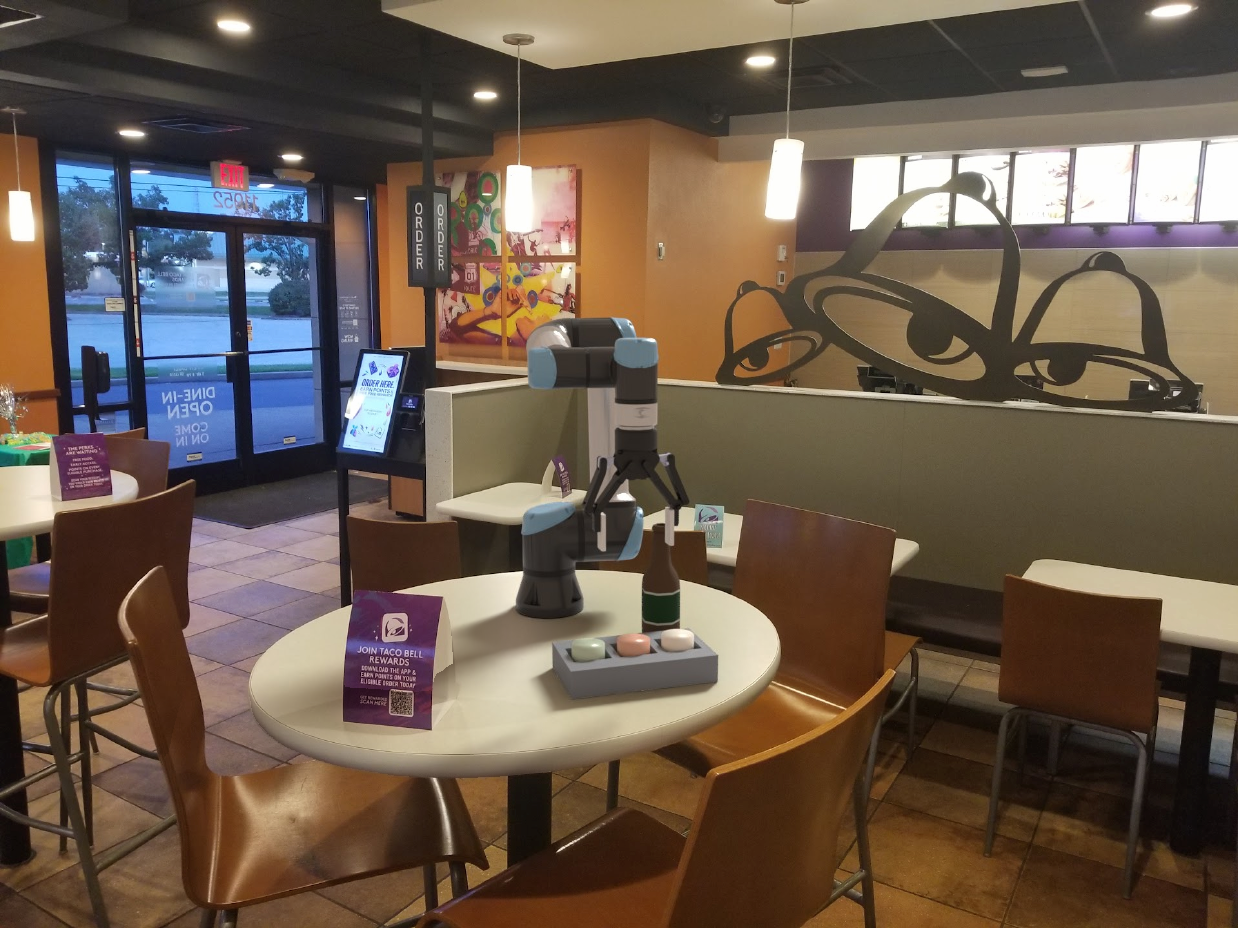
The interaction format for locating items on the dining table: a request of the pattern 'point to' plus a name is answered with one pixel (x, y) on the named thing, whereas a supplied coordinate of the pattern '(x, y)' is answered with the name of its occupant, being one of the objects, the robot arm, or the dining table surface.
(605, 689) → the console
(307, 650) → the dining table surface
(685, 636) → the button cream
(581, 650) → the button sage
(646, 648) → the button terracotta
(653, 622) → the beer bottle
